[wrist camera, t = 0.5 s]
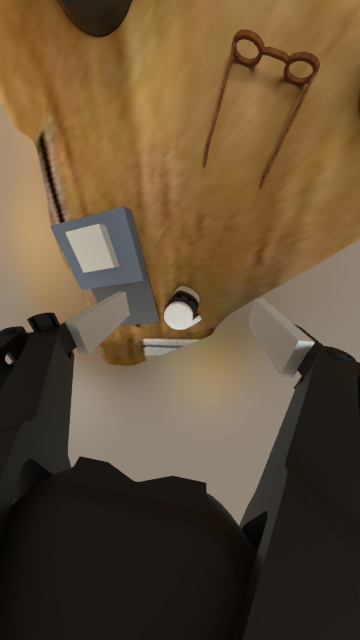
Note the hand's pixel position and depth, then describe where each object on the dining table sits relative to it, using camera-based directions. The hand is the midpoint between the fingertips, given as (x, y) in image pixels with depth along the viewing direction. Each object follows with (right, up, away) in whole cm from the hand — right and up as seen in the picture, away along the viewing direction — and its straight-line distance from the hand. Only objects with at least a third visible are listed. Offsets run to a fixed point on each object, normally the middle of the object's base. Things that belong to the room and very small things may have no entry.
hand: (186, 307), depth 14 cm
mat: (-18, +4, +31) cm, 36 cm away
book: (-21, +17, +24) cm, 36 cm away
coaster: (-22, +16, +20) cm, 34 cm away
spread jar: (+2, +3, +29) cm, 29 cm away
